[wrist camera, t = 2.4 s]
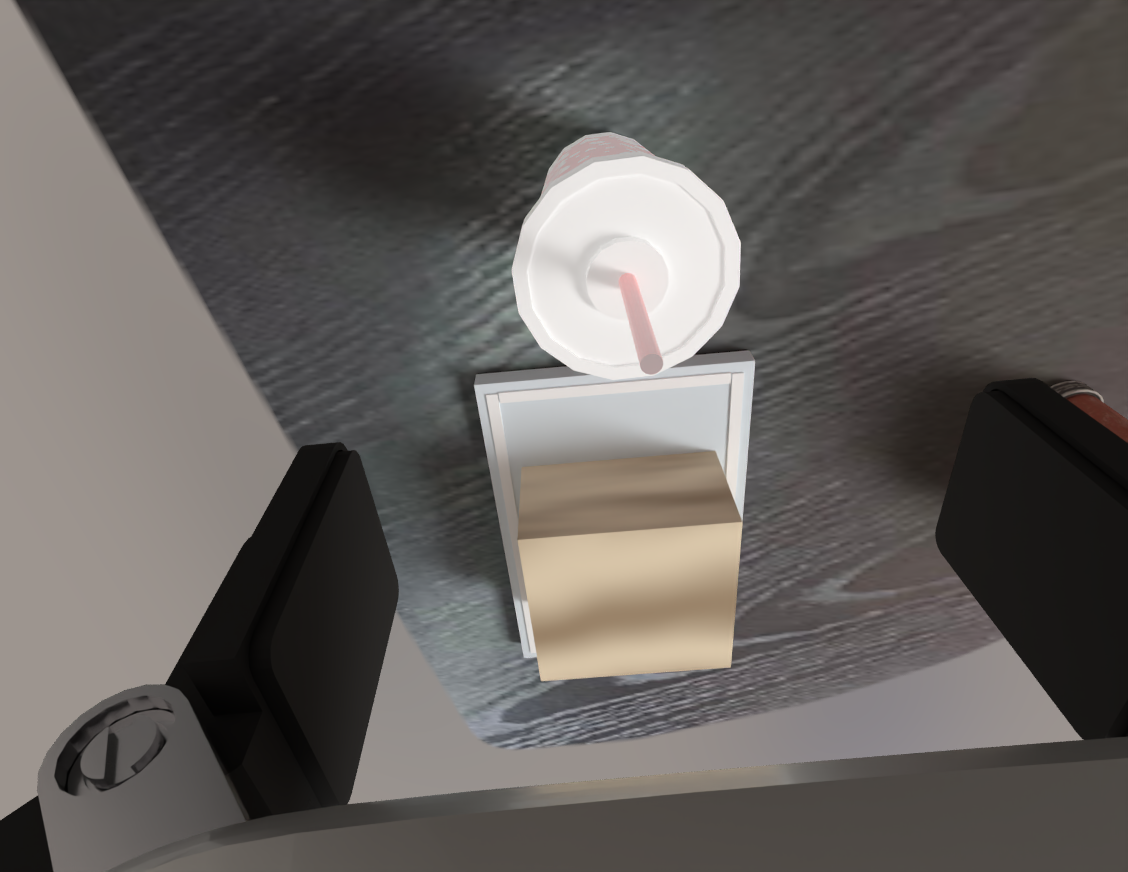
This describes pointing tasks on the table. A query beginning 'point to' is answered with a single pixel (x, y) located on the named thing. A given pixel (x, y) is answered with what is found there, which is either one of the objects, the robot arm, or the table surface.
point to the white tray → (609, 430)
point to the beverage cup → (624, 260)
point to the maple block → (630, 565)
